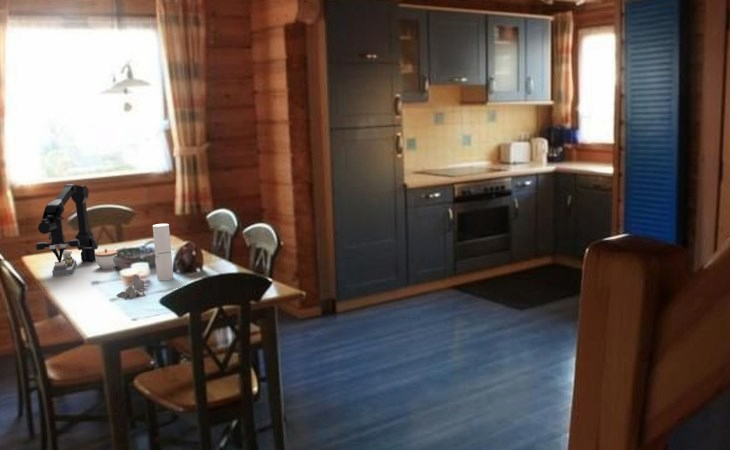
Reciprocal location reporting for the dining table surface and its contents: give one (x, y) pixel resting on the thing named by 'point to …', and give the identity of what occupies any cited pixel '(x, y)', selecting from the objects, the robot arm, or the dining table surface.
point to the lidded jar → (105, 258)
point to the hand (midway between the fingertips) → (60, 261)
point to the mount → (64, 269)
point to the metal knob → (69, 261)
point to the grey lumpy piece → (133, 288)
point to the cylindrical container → (163, 251)
